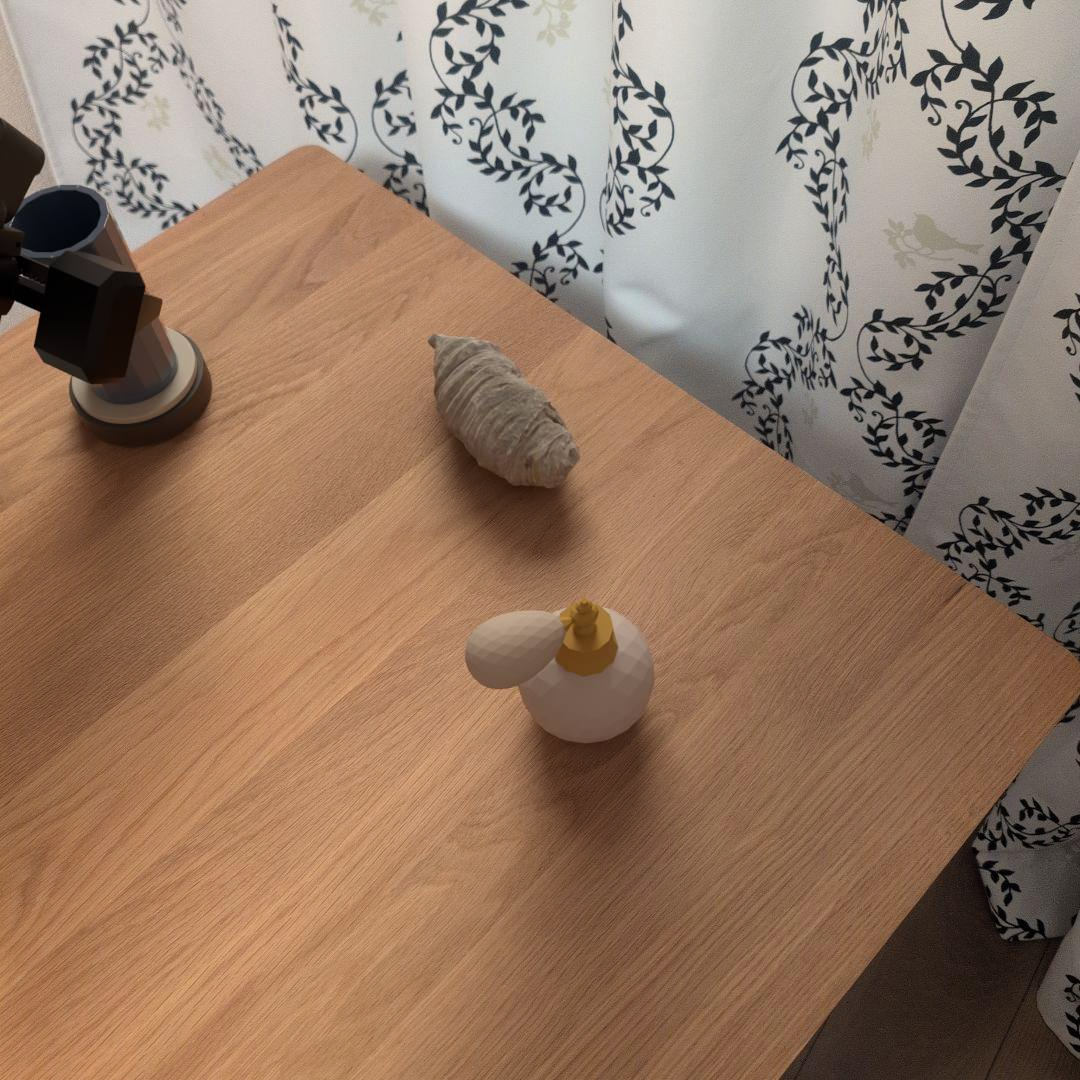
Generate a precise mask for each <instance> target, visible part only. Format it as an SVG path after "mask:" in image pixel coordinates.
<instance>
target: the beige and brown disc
mask: <svg viewBox="0 0 1080 1080" xmlns="http://www.w3.org/2000/svg"><path fill="white" fill-rule="evenodd" d="M165 328H166V330H167V332H168V334H169V336H170V338H171V340H172V343H173V345H174V349H175V351H176V353H177V356H178V368H177V372H176V374H175V376H174V378H173V380H172V381H171V383H170V384H169V385H168V386H167V387H166V388H165V389H164V390H163V391H161V392H160V393H159V394H157V395H155V396H154V397H152V398H150V399H148V400H145V401H142V402H139V403H135V404H125V405H121V404H113V403H109V402H106V401H104V400H102V399H100V398H99V397H97V396H96V395H95V394H94V393H93V392H92V390H91V389H90V387H89V385H88V384H87V383H86V382H84V381H82V380H80V379H78V378H76V377H74V376H72V375H70V378H69V385H68V392H69V398H70V402H71V404H72V406H73V407H72V408H74V410H75V412H76V413H77V415H78V417H79V419H80V420H81V422H82V424H84V426H85V428H86V429H87V430H88V431H89V432H90V434H92V435H93V436H94V437H95V438H97V439H99V440H100V441H102V442H104V443H107V444H109V445H112V446H116V447H121V448H122V447H123V448H142V447H143V448H144V447H149V446H153V445H157V444H160V443H163V442H165V441H168V440H170V439H172V438H174V437H176V436H178V435H180V434H181V433H183V432H184V431H185V430H187V429H188V428H189V427H191V426H192V425H193V424H194V423H195V422H196V421H197V420H198V419H199V418H200V417H201V415H202V414H203V412H204V411H205V409H206V407H207V405H208V404H209V401H210V398H211V393H212V389H213V381H212V376H211V372H210V369H209V368H208V365H207V362H206V360H205V358H204V355H203V353H202V351H201V350H200V348H199V346H198V345H197V343H196V342H195V341H194V340H192V338H190V337H189V336H188V335H186V334H185V333H183V332H181V331H179V330H177V329H174V328H171V327H167V326H165Z"/></svg>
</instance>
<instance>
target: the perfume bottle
mask: <svg viewBox="0 0 1080 1080" xmlns="http://www.w3.org/2000/svg"><path fill="white" fill-rule="evenodd" d="M464 661H465V664H466V668H467V669H468V673H470V675H471V676H472V678H473V679H474V680H475V681H476V682H477V683H479V685H480V686H481V685H482V686H483V687H485V688H486V689H491V690H508V689H511V688H514V687H517V688H518V691H519V694H520V697H521V699H522V703H523V705H524V706H525V709H526V710H527V711H528V713H529V715H530V717H531V718H532V720H534V721H535V723H537V724H538V725H539V726H540V727H541V728H542V729H544V731H546V732H547V733H548V734H551V735H553V736H554V737H557V738H559V739H561V740H564V741H568V742H573V743H580V744H590V743H591V744H592V743H598V742H604V741H609V740H611V739H613V738H615V737H616V736H618V735H621V734H623V733H625V732H626V731H628V730H629V729H630V728H631V727H632V726H633V725H634V724H635V723H636V722H637V721H638V720H639V719H640V718H641V717H642V715H643V713H644V712H645V710H646V708H647V706H648V705H649V702H650V699H651V697H652V694H653V693H652V692H653V689H654V685H655V665H654V660H653V656H652V653H651V649H650V645H649V644H648V642H647V641H646V639H645V637H644V636H643V634H642V633H641V631H640V629H639V628H638V627H637V626H636V625H634V623H632V622H631V621H630V620H629V619H627V618H626V617H625V616H624V615H622V614H621V613H618V612H617V611H615V610H613V609H612V608H608V607H604V606H601V605H600V604H597V603H594V602H592V600H590V599H589V598H587V597H586V596H583V597H581V598H580V599H579V600H578V601H577V602H576V603H572V604H570V605H568V606H567V607H565V608H561V609H558V610H555V611H553V612H552V613H551V612H549V611H546V610H545V611H544V610H535V609H534V610H532V609H531V610H529V609H528V610H518V611H511V612H506V613H505V612H504V613H502V614H500V615H497V616H494V617H492V618H489V619H487V620H486V621H484V622H483V623H481V624H479V625H478V626H477V627H476V628H475V629H474V630H473V631H472V633H471V634H470V635H469V637H468V638H467V640H466V645H465V649H464Z"/></svg>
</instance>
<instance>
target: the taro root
mask: <svg viewBox="0 0 1080 1080" xmlns="http://www.w3.org/2000/svg"><path fill="white" fill-rule="evenodd" d="M427 343H428V345H429V347H431V348H432V349H433V350H434V357H433V369H432V371H433V372H432V373H433V377H434V378H435V379H434V386H433V396H434V398H435V401H436V403H435V405H436V406H435V407H436V411H437V412H438V414H439V415H440V418H441V419H442V420H443V422H444V425H445V427H446V429H447V431H449V433H450V434H451V435H452V436H454V437H455V438H456V439H457V440H459V441H460V442H462V444H463V445H464V447H465V450H466V451H467V452H468V453H469V454H470V455H471V456H472V457H473V458H474V459H475V460H476V462H477V464H478V467H483V468H485V469H486V470H487V471H489V472H491V473H493V474H495V475H496V476H499V477H500V478H503V479H505V480H506V481H507V483H509V484H511V485H512V486H515V487H516V486H524V487H528V486H532V487H544V488H547V489H555V488H557V487H559V486H560V483H561V482H564V480H566V478H567V477H568V475H569V473H570V472H571V471H572V469H573V468H574V467H575V466H576V465H577V463H578V462H579V461H580V459H581V454H580V453H581V452H580V449H579V447H578V445H577V443H576V442H575V441H574V437H573V435H572V432H571V431H570V430H568V429H567V425H566V423H565V421H564V419H563V418H562V416H561V414H560V412H558V410H557V408H556V407H555V405H553V404H552V402H551V400H550V399H549V398H548V397H547V394H545V392H544V391H543V390H541V389H540V388H539V387H538V386H536V385H534V384H532V383H531V382H529V381H528V380H527V378H526V377H525V376H524V375H523V372H522V371H521V369H520V367H519V365H518V364H517V363H516V362H514V361H513V360H512V359H511V358H509V357H508V355H505V354H504V353H503V351H502V348H501V347H500V346H499V345H498V344H497V343H494V342H492V341H489V340H485V339H482V340H481V339H478V338H476V337H475V336H460V335H459V336H455V335H446V334H444V333H439V334H437V333H433V334H432V335H431V336H428V337H427Z"/></svg>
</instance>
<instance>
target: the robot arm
mask: <svg viewBox="0 0 1080 1080" xmlns="http://www.w3.org/2000/svg"><path fill="white" fill-rule="evenodd" d="M45 162H46V153H45V151H44V149H43V148H42V146H40V145H39V144H37V143H36V142H35V141H34V140H32V139H30V137H28V136H27V135H25V133H22V131H20V130H19V129H18V128H16V127H14V125H12V124H11V123H9V122H8V121H6V120H5V118H3V117H1V116H0V323H2V317H3V316H4V317H5V316H7V315H8V314H9V313H10V312H11V309H12V308H13V306H14V304H15V302H16V303H18V304H20V305H23V306H25V307H27V308H29V309H32V310H34V311H36V312H38V313H39V317H38V322H37V327H36V331H35V337H34V342H33V349H35V351H36V353H37V354H38V357H39V358H40V359H41V361H42V363H43V364H45V365H47V366H50V367H52V368H54V369H57V370H59V371H61V372H62V373H65V374H67V375H70V376H74V377H76V378H78V379H80V380H82V381H84V382H87V383H89V384H112V383H117V382H118V381H120V380H122V379H123V378H125V376H126V372H127V368H128V363H129V359H130V354H131V350H132V345H133V341H134V336H135V335H136V334H138V333H139V332H140V331H141V330H143V329H144V328H145V327H146V326H147V325H149V324H150V323H151V322H152V321H154V320H155V319H156V318H157V317H158V316H159V315H160V316H161V311H162V308H163V299H162V298H161V297H159V296H156V295H153V294H151V293H150V294H147V293H144V292H145V288H146V286H147V285H146V286H145V284H146V283H145V284H144V282H145V280H144V278H143V276H142V274H140V273H141V272H140V273H139V272H137V271H134V270H132V269H130V268H127V267H125V266H123V265H121V264H118V263H116V262H113V261H111V260H109V259H106V258H104V257H102V256H99V255H97V254H94V253H93V254H89V253H85V252H81V251H72V250H66V251H65V252H64V253H63V254H62V255H60V256H59V257H58V258H57V259H56V260H55V261H54V262H53V263H52V264H51V265H50V266H48V265H45V264H43V263H41V262H38V261H36V260H34V259H31V258H29V257H27V256H24V255H22V254H21V249H22V244H23V238H24V232H22V231H20V230H17V229H15V228H13V227H6V226H4V224H6V223H8V222H10V221H11V220H12V219H13V218H14V216H15V215H16V213H17V211H18V209H19V207H20V205H21V203H22V201H23V199H24V198H26V195H27V194H28V191H29V189H30V187H31V185H32V184H33V181H34V179H35V177H36V176H38V175H40V173H41V172H42V170H43V168H44V165H45ZM141 276H142V277H141ZM25 277H28V279H27V278H25ZM142 278H143V279H142ZM30 279H34V281H35V282H34V281H32V280H30ZM143 280H144V281H143ZM36 282H39V283H40V284H39V283H36ZM41 284H45V286H43V285H41Z"/></svg>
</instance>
